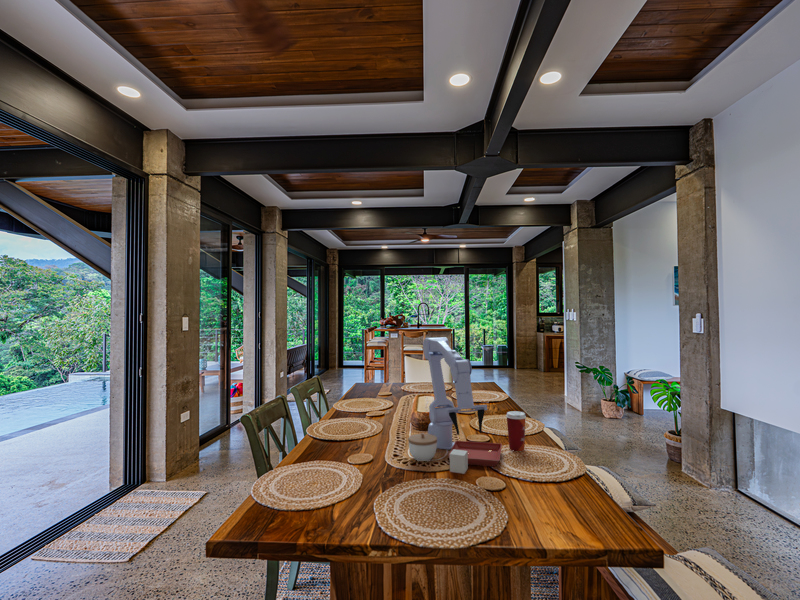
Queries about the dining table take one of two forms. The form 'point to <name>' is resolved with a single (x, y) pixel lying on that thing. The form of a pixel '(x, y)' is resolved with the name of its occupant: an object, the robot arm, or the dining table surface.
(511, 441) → the paper cup
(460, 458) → the block
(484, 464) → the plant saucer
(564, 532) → the dining table surface
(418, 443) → the lidded jar
